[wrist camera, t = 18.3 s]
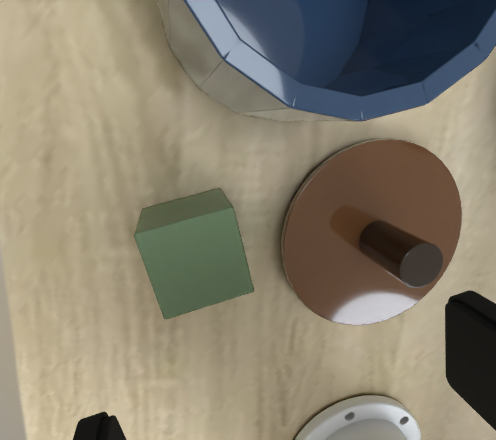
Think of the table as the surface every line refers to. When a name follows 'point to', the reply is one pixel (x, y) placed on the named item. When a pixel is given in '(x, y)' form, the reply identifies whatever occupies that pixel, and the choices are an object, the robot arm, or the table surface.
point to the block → (193, 252)
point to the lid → (371, 231)
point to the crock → (327, 53)
